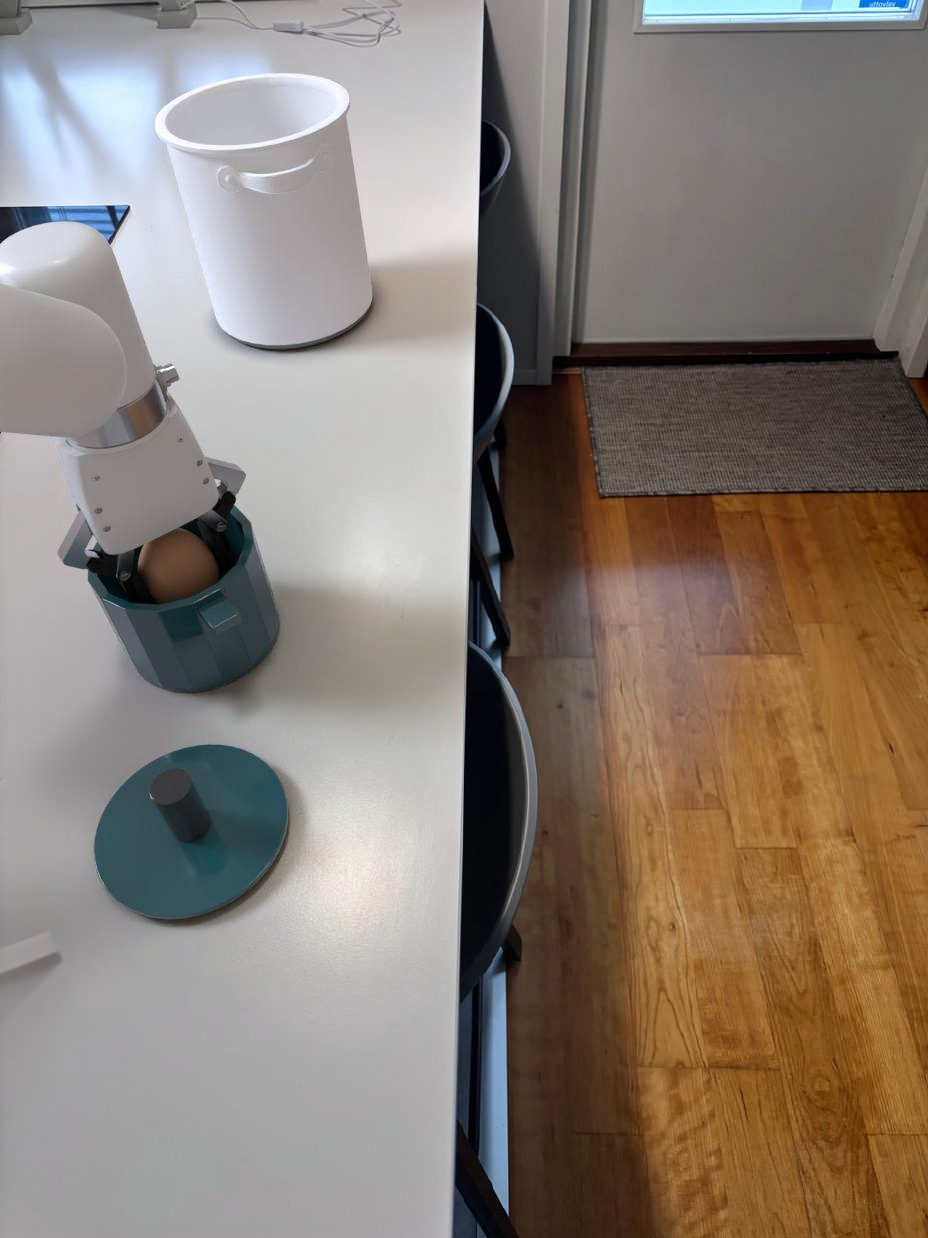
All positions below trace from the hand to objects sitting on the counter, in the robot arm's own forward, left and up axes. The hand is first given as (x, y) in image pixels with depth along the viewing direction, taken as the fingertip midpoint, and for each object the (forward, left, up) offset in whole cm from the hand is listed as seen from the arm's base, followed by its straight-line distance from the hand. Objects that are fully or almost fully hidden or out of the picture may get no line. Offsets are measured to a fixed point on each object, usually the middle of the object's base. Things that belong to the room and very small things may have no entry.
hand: (181, 579), depth 81 cm
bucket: (+35, +43, -7) cm, 56 cm away
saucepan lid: (-10, -18, -7) cm, 21 cm away
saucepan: (0, 0, -7) cm, 7 cm away
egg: (0, 0, -3) cm, 3 cm away
